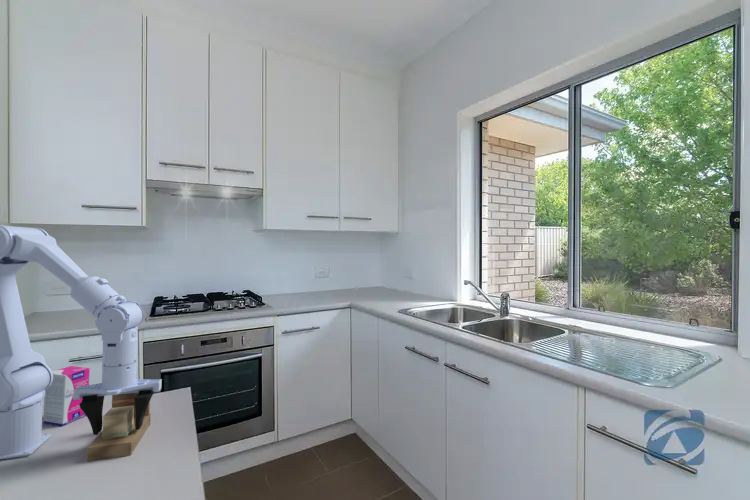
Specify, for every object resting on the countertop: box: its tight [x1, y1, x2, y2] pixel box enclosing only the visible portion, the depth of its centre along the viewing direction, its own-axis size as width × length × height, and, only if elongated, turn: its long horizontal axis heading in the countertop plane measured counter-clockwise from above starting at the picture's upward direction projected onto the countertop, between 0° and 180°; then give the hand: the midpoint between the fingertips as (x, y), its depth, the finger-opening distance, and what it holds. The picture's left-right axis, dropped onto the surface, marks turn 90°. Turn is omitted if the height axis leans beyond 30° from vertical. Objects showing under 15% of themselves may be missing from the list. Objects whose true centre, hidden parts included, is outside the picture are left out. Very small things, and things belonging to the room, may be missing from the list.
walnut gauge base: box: [86, 392, 152, 462], centre depth 73 cm, size 7×13×9 cm, turn 19°
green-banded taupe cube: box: [102, 406, 134, 440], centre depth 71 cm, size 4×4×4 cm
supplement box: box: [42, 365, 91, 427], centre depth 82 cm, size 6×6×12 cm
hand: (118, 429), depth 71 cm, fingers open, 6 cm apart
